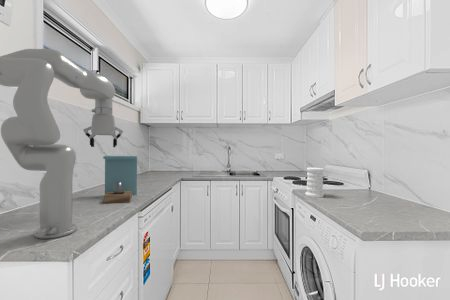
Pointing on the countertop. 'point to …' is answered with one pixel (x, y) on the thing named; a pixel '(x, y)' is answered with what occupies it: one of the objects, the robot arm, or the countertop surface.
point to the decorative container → (315, 182)
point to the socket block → (117, 197)
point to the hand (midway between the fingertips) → (103, 147)
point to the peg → (118, 187)
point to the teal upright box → (121, 173)
